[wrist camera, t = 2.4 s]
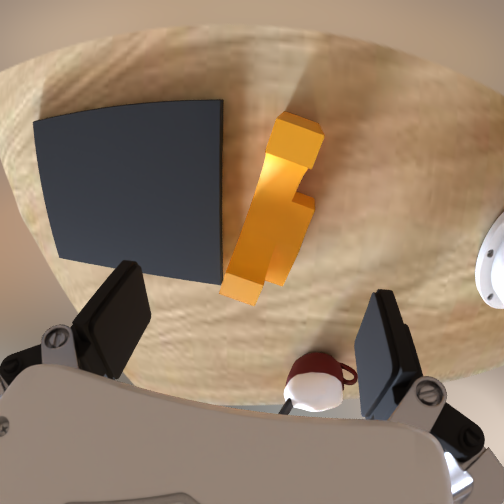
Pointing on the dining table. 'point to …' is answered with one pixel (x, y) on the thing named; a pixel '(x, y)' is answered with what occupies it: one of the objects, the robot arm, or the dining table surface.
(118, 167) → the mat
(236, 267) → the pipe clamp
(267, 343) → the dining table surface
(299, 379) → the cocoa
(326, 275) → the dining table surface
